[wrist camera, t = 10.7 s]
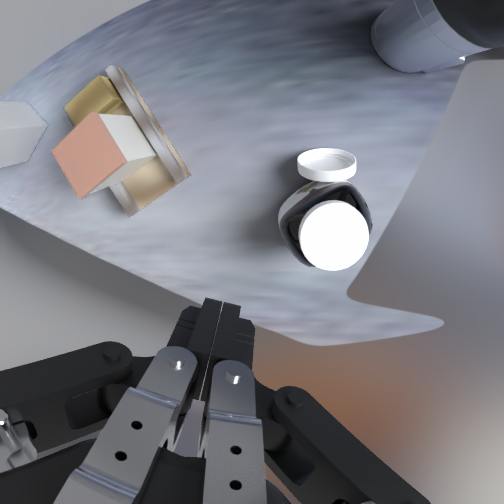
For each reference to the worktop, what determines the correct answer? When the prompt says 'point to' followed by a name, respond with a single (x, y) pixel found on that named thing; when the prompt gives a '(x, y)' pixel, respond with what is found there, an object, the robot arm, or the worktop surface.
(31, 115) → the milk carton
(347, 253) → the spread jar
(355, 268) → the worktop surface
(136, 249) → the worktop surface
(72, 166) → the pink-topped white box
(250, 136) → the worktop surface
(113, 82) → the track
